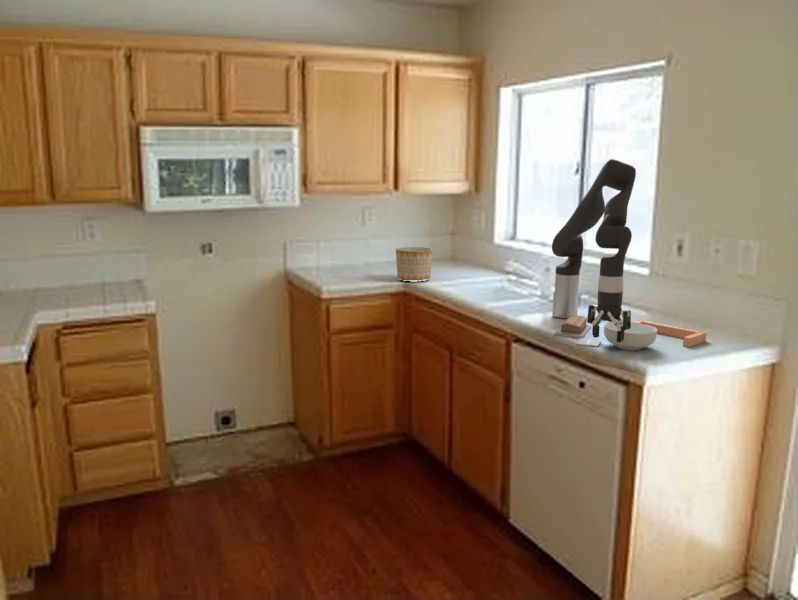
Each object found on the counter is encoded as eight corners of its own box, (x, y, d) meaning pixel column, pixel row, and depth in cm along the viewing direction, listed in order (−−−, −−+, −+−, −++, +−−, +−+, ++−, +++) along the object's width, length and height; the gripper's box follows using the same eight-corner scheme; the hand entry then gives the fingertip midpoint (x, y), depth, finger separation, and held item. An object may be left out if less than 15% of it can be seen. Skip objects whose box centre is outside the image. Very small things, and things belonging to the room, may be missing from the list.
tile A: (576, 344, 228) (576, 343, 228) (580, 339, 235) (580, 338, 235) (597, 347, 226) (597, 345, 225) (600, 342, 232) (601, 340, 232)
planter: (392, 277, 364) (392, 247, 360) (427, 276, 367) (428, 246, 364) (399, 283, 345) (399, 251, 342) (436, 282, 348) (436, 250, 345)
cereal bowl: (635, 357, 214) (636, 335, 213) (592, 345, 227) (593, 325, 226) (666, 348, 224) (668, 328, 222) (623, 338, 237) (624, 318, 236)
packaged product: (565, 313, 257) (592, 315, 253) (564, 325, 258) (591, 328, 254) (554, 322, 241) (583, 325, 237) (554, 336, 242) (582, 339, 238)
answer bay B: (688, 347, 226) (689, 338, 225) (622, 332, 245) (622, 324, 244) (705, 341, 233) (706, 332, 233) (640, 328, 252) (640, 319, 252)
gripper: (637, 291, 210) (634, 342, 213) (597, 285, 221) (595, 333, 224) (624, 294, 205) (620, 345, 208) (584, 287, 216) (581, 337, 219)
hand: (607, 339), depth 216 cm, fingers open, 8 cm apart
